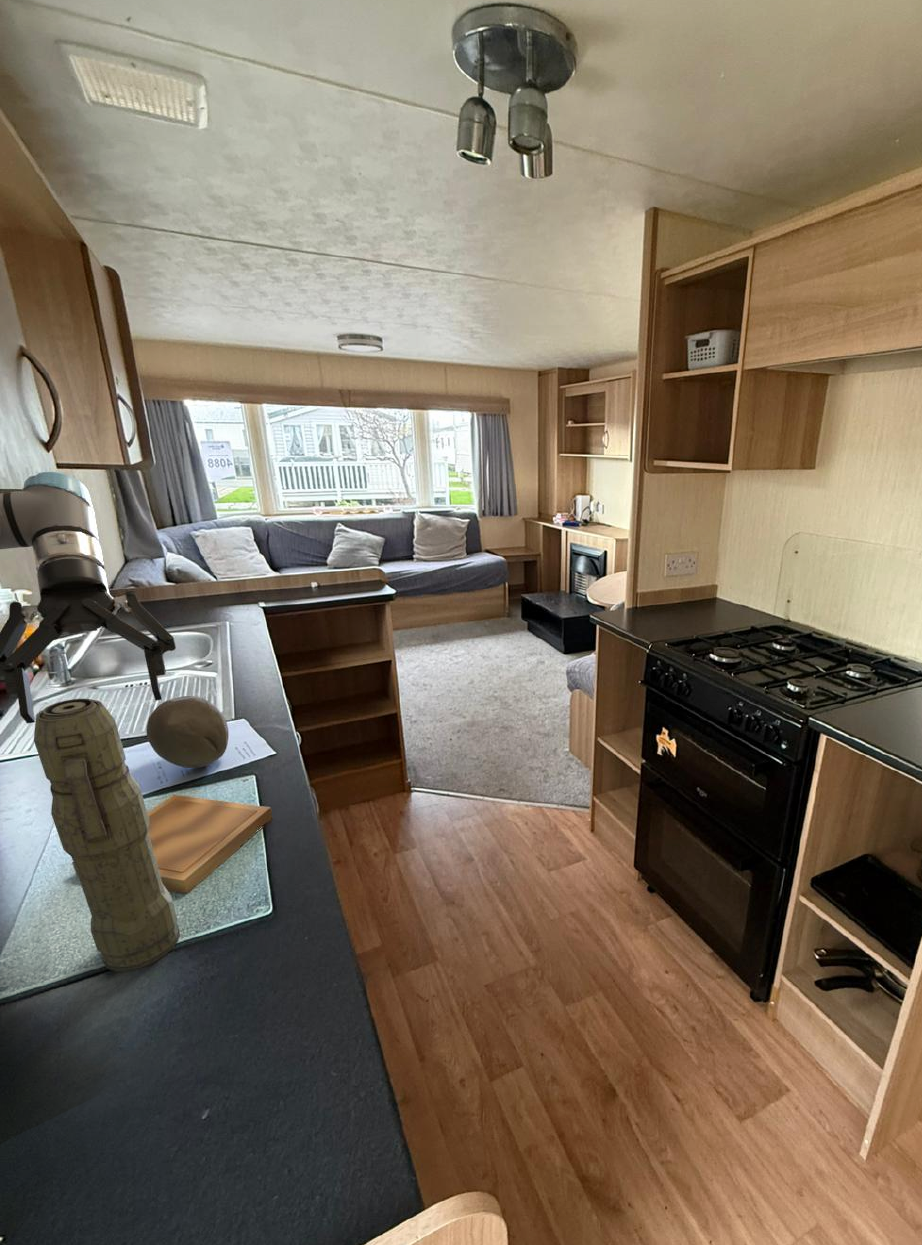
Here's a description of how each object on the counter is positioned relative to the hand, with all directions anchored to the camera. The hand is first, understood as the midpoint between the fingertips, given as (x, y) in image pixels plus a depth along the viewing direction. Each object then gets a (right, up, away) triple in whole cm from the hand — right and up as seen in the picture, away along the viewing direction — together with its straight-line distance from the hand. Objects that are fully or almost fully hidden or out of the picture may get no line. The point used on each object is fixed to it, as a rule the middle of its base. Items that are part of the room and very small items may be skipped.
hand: (95, 707), depth 79 cm
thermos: (+4, -32, +3) cm, 33 cm away
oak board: (-4, -24, +23) cm, 34 cm away
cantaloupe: (-16, -15, +49) cm, 53 cm away
